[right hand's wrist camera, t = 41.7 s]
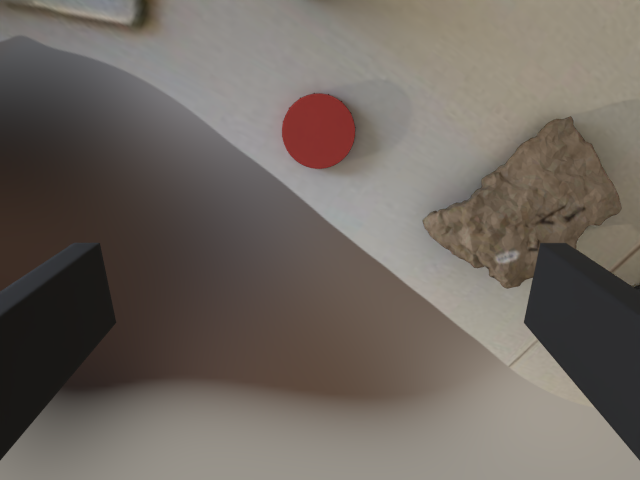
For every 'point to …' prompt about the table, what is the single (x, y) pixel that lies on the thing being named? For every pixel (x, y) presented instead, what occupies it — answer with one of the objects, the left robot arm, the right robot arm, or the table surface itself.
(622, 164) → the table surface
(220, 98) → the table surface
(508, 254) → the stone
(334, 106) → the lid
